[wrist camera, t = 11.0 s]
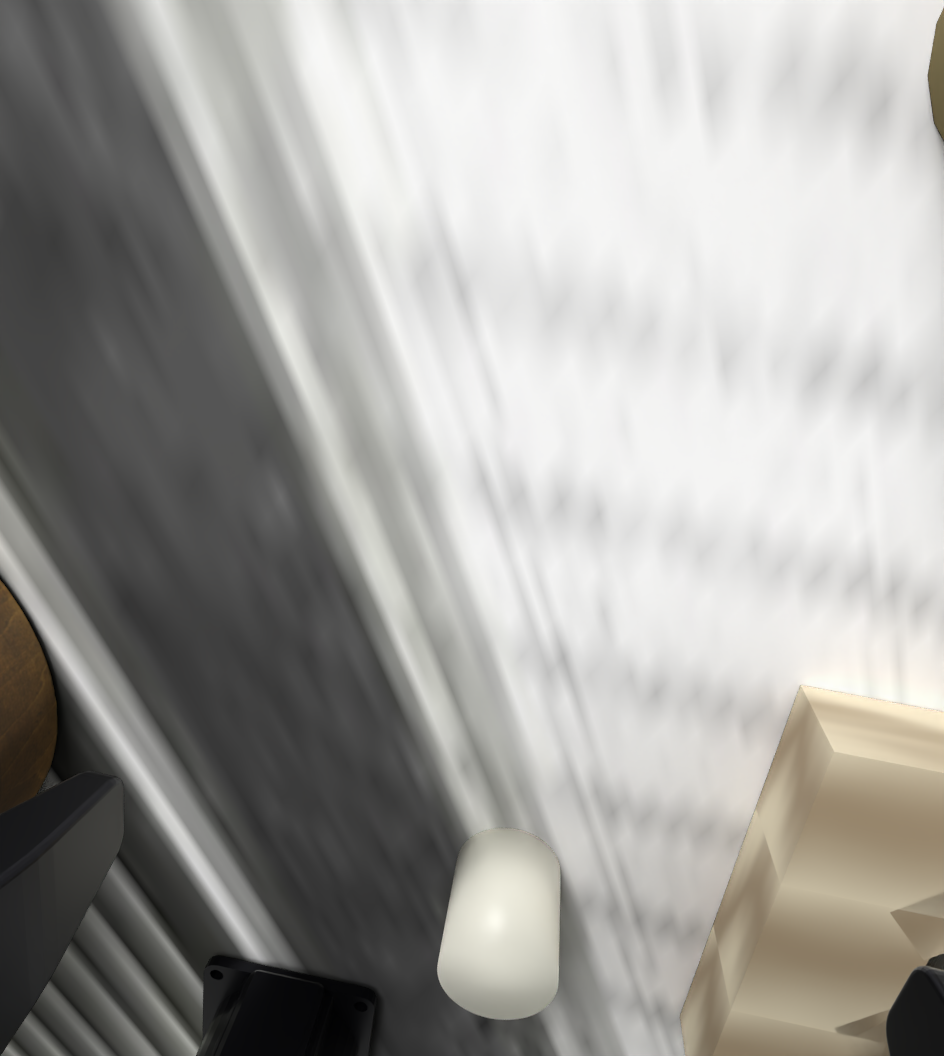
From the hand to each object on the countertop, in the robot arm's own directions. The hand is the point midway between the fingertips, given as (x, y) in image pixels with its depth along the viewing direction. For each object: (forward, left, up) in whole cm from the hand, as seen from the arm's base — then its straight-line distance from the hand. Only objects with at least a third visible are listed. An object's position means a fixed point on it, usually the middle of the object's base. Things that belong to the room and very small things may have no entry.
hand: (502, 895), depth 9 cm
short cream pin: (-13, -1, -13) cm, 19 cm away
